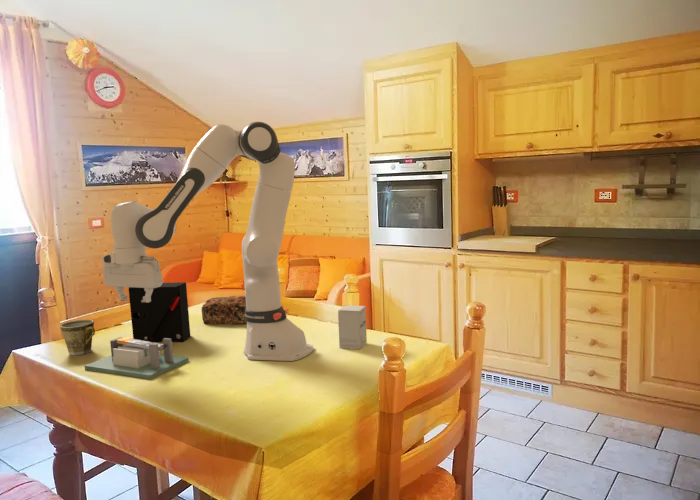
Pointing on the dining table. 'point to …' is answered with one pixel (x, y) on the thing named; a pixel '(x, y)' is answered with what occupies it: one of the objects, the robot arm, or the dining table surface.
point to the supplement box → (352, 327)
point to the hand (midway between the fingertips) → (135, 301)
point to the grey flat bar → (139, 343)
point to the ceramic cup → (78, 336)
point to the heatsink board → (136, 371)
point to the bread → (224, 310)
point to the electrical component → (160, 313)
